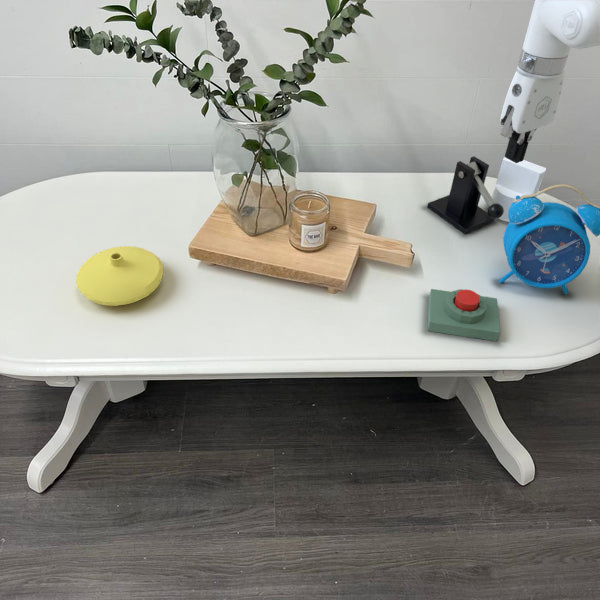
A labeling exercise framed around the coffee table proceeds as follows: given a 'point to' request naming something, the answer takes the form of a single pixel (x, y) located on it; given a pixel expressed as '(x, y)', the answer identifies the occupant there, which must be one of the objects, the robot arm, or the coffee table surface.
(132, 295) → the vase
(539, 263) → the alarm clock
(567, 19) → the robot arm
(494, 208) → the lever
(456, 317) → the button box
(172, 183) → the coffee table surface
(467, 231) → the bracket
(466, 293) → the button
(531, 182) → the base with upright slab
